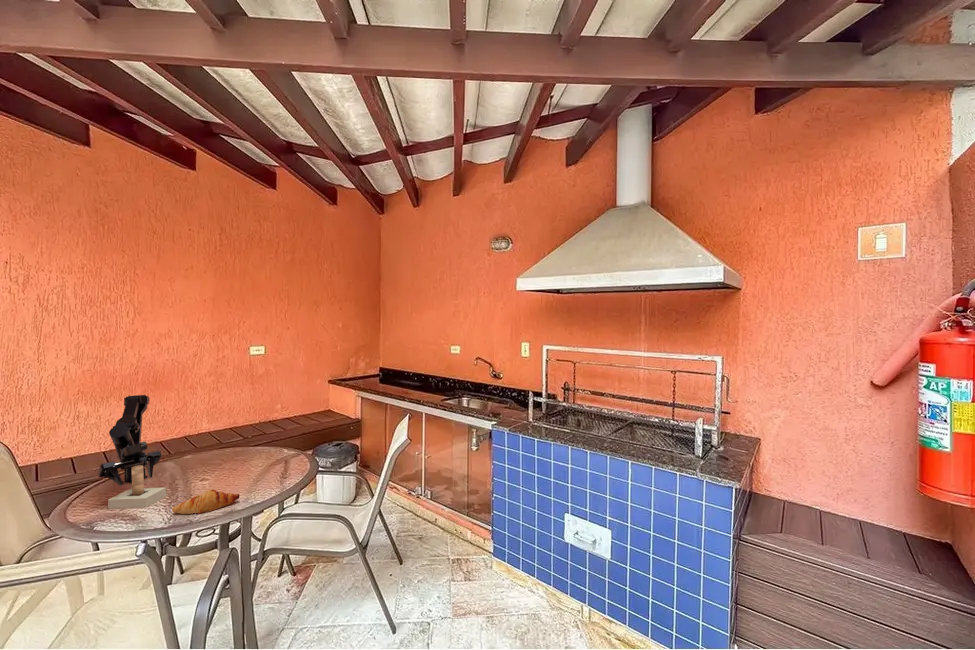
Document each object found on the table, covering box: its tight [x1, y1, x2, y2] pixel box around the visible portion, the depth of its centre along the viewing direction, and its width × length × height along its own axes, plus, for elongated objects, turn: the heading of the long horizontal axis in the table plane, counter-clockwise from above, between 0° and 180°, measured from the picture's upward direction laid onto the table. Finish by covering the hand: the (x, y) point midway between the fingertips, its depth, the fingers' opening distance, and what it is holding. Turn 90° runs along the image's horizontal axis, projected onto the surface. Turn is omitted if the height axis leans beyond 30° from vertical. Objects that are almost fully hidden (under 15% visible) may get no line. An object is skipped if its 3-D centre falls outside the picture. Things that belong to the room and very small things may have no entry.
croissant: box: [171, 489, 240, 515], centre depth 151 cm, size 21×10×8 cm, turn 118°
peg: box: [131, 465, 145, 496], centre depth 157 cm, size 4×4×14 cm
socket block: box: [107, 487, 167, 510], centre depth 157 cm, size 14×10×4 cm
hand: (137, 481), depth 158 cm, fingers open, 9 cm apart
